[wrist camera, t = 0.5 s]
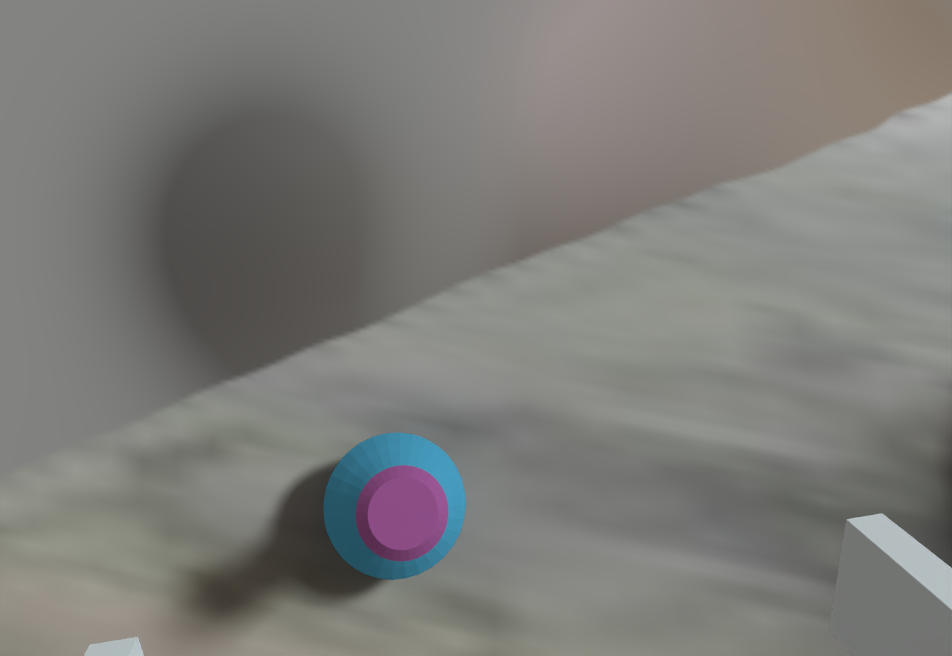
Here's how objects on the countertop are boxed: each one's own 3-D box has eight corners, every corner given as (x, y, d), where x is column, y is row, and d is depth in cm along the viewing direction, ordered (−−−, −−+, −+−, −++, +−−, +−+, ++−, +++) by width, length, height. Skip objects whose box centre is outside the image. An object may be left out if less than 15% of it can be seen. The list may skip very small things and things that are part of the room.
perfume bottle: (454, 569, 44) (493, 613, 30) (323, 568, 43) (297, 615, 29) (458, 439, 47) (496, 422, 32) (333, 434, 45) (315, 415, 31)
